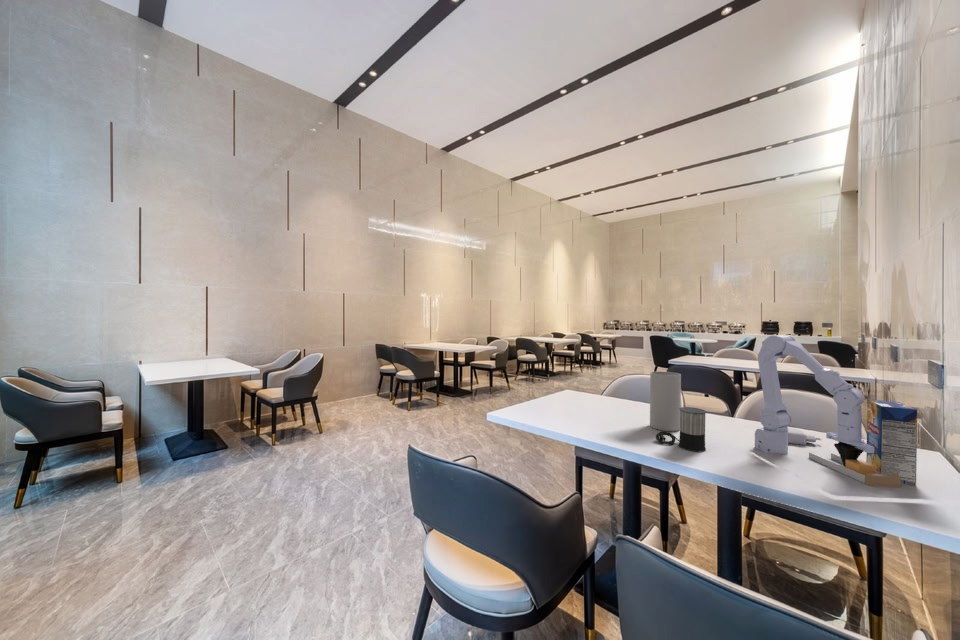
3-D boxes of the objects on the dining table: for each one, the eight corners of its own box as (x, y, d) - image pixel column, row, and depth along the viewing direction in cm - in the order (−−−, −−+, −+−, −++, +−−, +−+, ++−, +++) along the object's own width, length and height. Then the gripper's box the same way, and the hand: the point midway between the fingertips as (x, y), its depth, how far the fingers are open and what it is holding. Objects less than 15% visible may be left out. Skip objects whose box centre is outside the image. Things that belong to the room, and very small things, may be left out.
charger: (824, 448, 143) (776, 442, 150) (816, 442, 151) (771, 436, 158) (824, 436, 143) (776, 430, 150) (817, 430, 151) (771, 425, 158)
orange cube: (858, 477, 114) (859, 465, 114) (845, 471, 118) (845, 459, 118) (874, 478, 113) (874, 465, 113) (860, 472, 118) (860, 459, 118)
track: (869, 489, 108) (869, 475, 108) (808, 460, 130) (808, 449, 130) (900, 490, 108) (900, 476, 108) (833, 461, 130) (833, 450, 130)
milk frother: (711, 452, 138) (711, 412, 138) (668, 451, 138) (669, 412, 138) (690, 439, 152) (690, 404, 152) (652, 439, 152) (652, 403, 152)
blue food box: (866, 471, 123) (867, 399, 122) (898, 476, 119) (899, 402, 118) (880, 484, 112) (881, 406, 112) (916, 490, 108) (917, 409, 108)
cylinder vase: (670, 423, 175) (670, 371, 175) (686, 431, 163) (687, 375, 163) (644, 424, 174) (645, 371, 174) (659, 432, 162) (659, 375, 162)
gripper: (885, 432, 112) (884, 477, 112) (841, 419, 126) (841, 459, 126) (860, 432, 112) (860, 476, 112) (820, 419, 127) (819, 458, 127)
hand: (848, 467), depth 119 cm, fingers closed
